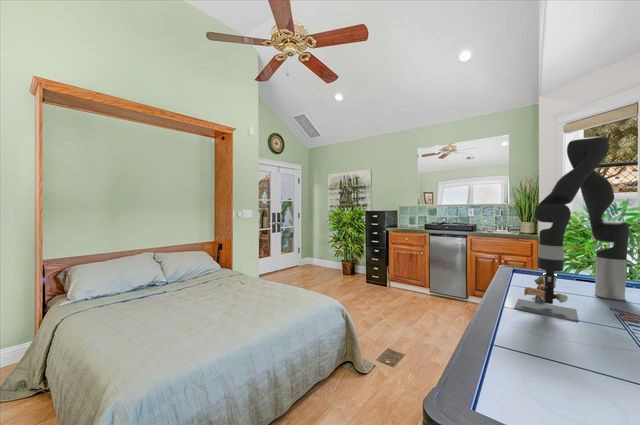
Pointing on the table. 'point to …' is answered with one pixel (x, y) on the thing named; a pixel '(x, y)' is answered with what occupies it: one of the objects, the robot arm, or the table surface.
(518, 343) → the table surface
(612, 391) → the table surface
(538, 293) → the grandmother figurine
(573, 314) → the mat
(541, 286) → the lion figurine
